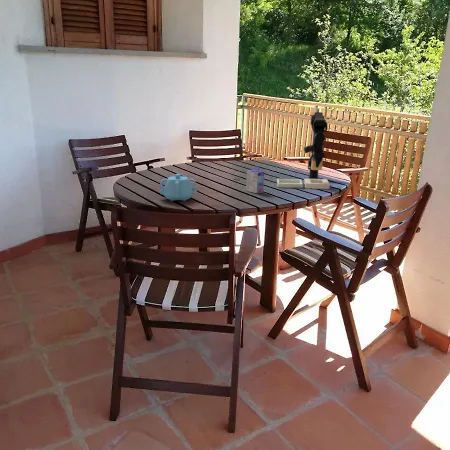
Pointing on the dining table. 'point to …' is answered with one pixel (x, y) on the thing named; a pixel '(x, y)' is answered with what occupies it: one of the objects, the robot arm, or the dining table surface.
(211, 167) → the dining table surface
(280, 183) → the parts tray
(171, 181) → the decorative pot
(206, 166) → the dining table surface
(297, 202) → the dining table surface
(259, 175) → the ink cartridge box
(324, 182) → the white square frame
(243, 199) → the dining table surface
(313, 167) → the block
